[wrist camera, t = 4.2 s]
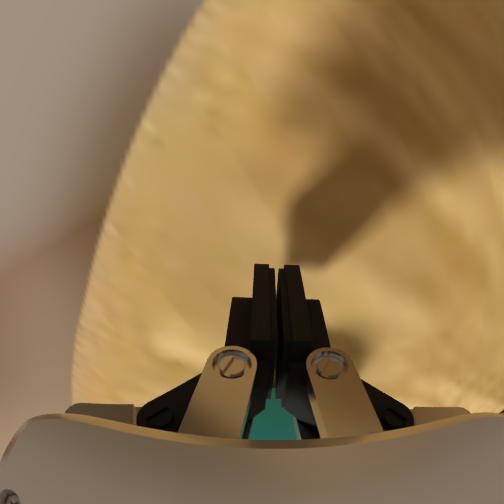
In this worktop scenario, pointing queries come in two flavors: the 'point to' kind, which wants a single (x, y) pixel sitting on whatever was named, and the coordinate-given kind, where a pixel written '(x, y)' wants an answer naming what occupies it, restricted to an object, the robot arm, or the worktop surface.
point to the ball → (273, 422)
